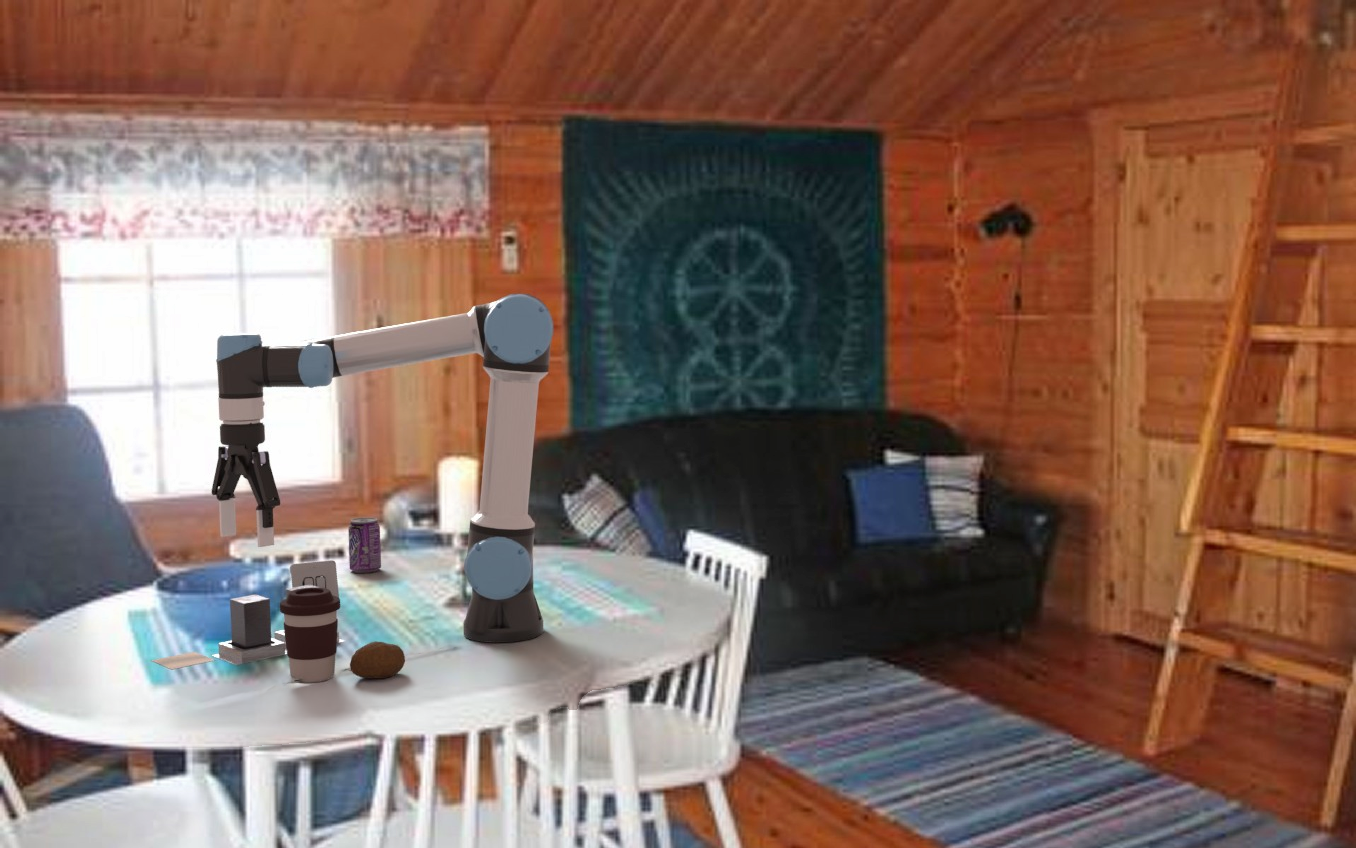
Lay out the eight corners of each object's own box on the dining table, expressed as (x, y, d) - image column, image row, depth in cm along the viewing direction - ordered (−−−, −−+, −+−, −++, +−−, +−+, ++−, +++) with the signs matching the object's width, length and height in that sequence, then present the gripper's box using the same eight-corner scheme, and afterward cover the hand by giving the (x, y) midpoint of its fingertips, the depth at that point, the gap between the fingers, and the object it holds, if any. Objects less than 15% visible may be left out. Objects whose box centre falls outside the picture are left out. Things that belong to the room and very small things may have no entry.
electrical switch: (294, 610, 291) (291, 565, 291) (289, 607, 296) (287, 563, 296) (340, 605, 295) (337, 561, 295) (334, 603, 300) (332, 558, 300)
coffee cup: (319, 666, 250) (316, 582, 248) (354, 676, 243) (351, 590, 242) (270, 679, 242) (267, 592, 240) (306, 689, 236) (303, 600, 234)
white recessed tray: (346, 646, 263) (345, 630, 262) (236, 670, 247) (235, 653, 247) (320, 637, 269) (320, 622, 269) (211, 660, 254) (210, 644, 253)
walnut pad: (215, 665, 250) (215, 660, 250) (172, 675, 245) (171, 669, 245) (194, 657, 256) (194, 651, 256) (151, 666, 250) (151, 660, 250)
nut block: (271, 653, 254) (269, 598, 253) (246, 659, 251) (243, 603, 250) (257, 648, 258) (255, 594, 257) (232, 654, 254) (229, 599, 253)
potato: (414, 675, 244) (413, 640, 243) (364, 687, 237) (363, 651, 236) (393, 668, 248) (392, 633, 248) (343, 679, 242) (342, 643, 241)
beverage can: (348, 569, 331) (346, 518, 329) (379, 567, 333) (378, 516, 332) (351, 575, 324) (349, 523, 323) (382, 573, 326) (381, 521, 325)
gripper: (297, 424, 244) (302, 547, 246) (227, 415, 261) (232, 529, 264) (257, 428, 238) (262, 553, 241) (188, 418, 256) (194, 534, 258)
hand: (246, 541), depth 252 cm, fingers open, 13 cm apart
